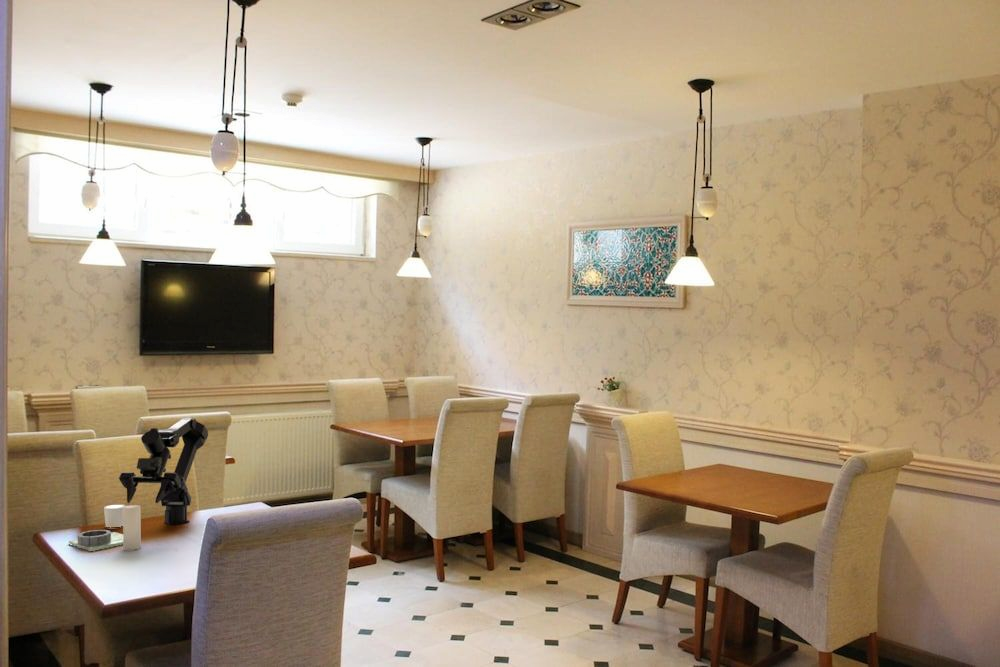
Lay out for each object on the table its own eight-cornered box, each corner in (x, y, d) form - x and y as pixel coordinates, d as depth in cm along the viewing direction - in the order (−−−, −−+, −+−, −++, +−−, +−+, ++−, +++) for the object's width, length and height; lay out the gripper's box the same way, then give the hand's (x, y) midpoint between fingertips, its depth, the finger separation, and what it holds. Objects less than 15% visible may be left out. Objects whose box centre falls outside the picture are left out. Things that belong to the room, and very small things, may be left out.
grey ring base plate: (114, 534, 282) (114, 524, 282) (136, 541, 274) (136, 530, 274) (68, 544, 271) (68, 533, 270) (90, 551, 262) (90, 540, 262)
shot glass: (119, 528, 290) (119, 508, 290) (100, 528, 291) (99, 508, 290) (129, 524, 297) (129, 504, 297) (109, 523, 297) (109, 504, 297)
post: (135, 545, 270) (135, 504, 270) (143, 547, 267) (143, 506, 266) (120, 548, 266) (119, 507, 266) (128, 551, 263) (128, 509, 263)
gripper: (121, 447, 278) (104, 487, 268) (177, 448, 278) (162, 488, 267) (132, 467, 287) (117, 507, 276) (187, 467, 286) (173, 508, 275)
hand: (142, 502), depth 273 cm, fingers open, 9 cm apart
